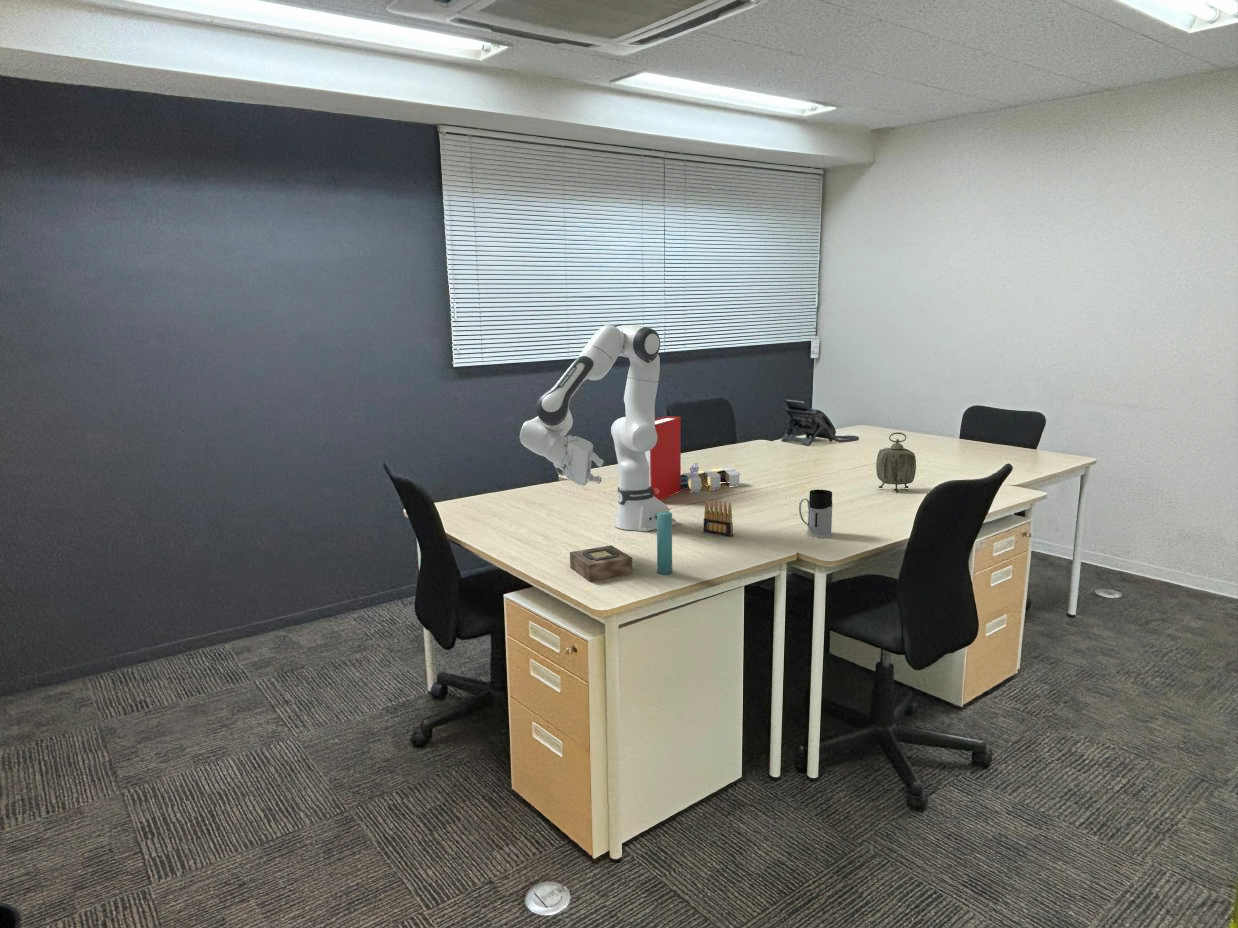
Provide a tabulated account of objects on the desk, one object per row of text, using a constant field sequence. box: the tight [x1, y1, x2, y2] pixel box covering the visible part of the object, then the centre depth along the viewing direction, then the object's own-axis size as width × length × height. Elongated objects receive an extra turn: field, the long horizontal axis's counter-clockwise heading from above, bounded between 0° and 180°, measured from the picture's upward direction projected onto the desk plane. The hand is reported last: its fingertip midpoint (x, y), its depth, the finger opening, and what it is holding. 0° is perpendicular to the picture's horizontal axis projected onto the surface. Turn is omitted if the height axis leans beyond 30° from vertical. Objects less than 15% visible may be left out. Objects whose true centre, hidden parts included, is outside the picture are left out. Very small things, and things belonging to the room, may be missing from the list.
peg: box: [656, 511, 673, 576], centre depth 227 cm, size 4×4×18 cm
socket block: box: [569, 545, 633, 582], centre depth 230 cm, size 14×14×5 cm
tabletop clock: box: [875, 431, 917, 492], centre depth 322 cm, size 14×9×25 cm, turn 84°
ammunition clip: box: [702, 498, 734, 538], centre depth 266 cm, size 11×2×12 cm, turn 56°
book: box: [645, 415, 682, 501], centre depth 320 cm, size 27×8×32 cm, turn 149°
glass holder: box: [798, 489, 833, 539], centre depth 261 cm, size 9×14×15 cm, turn 122°
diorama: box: [681, 462, 740, 494], centre depth 335 cm, size 25×10×13 cm, turn 117°
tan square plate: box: [589, 551, 611, 558], centre depth 230 cm, size 5×5×1 cm
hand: (601, 472), depth 241 cm, fingers open, 8 cm apart
